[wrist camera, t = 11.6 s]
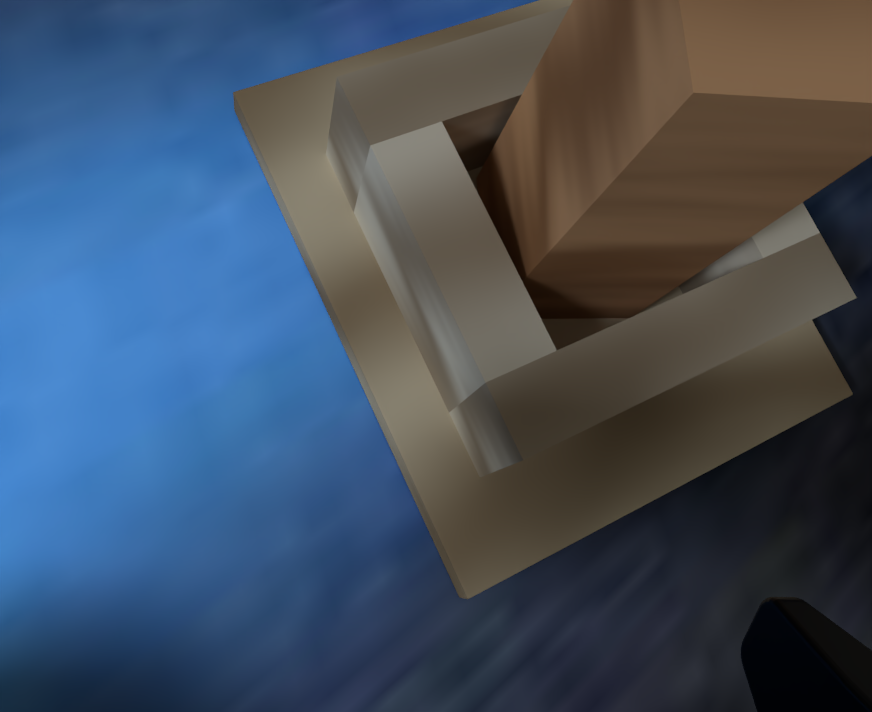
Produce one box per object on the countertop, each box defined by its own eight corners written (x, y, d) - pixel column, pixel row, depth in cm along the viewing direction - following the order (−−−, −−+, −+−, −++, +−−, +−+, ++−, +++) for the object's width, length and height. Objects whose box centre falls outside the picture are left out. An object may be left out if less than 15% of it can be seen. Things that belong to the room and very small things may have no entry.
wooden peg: (630, 318, 25) (943, 106, 13) (488, 318, 24) (693, 93, 12) (613, 182, 26) (889, -121, 14) (476, 178, 25) (655, -151, 13)
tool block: (832, 400, 26) (955, 364, 22) (459, 597, 23) (510, 606, 18) (609, -5, 29) (676, -117, 24) (234, 110, 25) (226, 3, 20)
